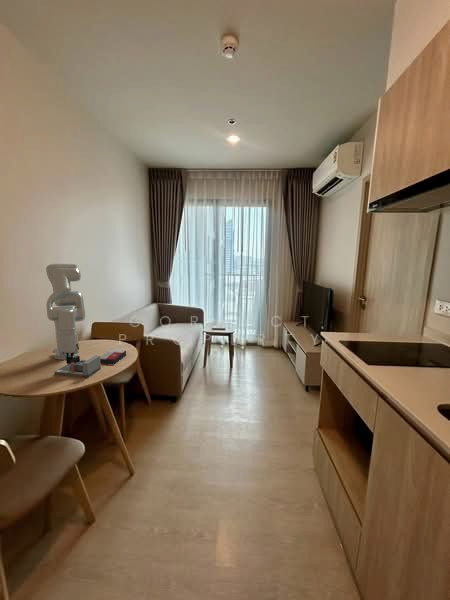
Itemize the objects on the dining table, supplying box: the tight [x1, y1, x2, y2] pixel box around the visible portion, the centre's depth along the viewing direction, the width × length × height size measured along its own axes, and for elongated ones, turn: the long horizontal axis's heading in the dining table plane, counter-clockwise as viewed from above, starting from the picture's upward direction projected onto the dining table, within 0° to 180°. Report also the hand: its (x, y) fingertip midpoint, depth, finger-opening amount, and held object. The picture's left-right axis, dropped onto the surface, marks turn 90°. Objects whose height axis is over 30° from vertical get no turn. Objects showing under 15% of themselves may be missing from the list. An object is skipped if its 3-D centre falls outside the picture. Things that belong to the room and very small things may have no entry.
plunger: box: [69, 355, 83, 370], centre depth 143 cm, size 8×8×6 cm
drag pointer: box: [71, 363, 75, 372], centre depth 140 cm, size 1×2×5 cm, turn 172°
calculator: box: [100, 349, 127, 365], centre depth 164 cm, size 11×4×15 cm
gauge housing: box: [54, 355, 102, 378], centre depth 145 cm, size 20×11×8 cm, turn 82°
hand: (69, 362), depth 145 cm, fingers closed
